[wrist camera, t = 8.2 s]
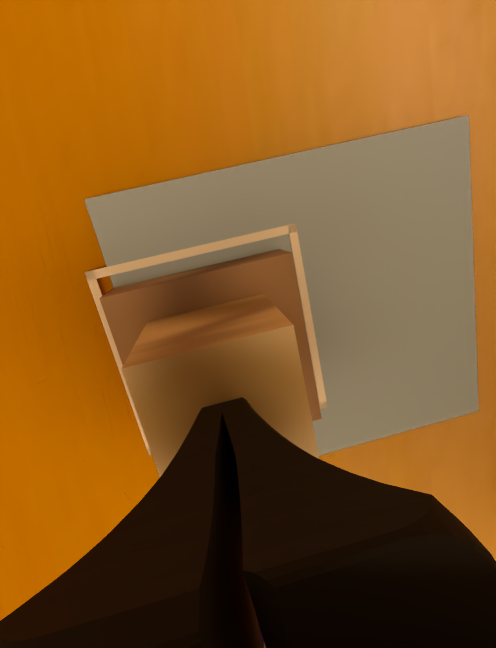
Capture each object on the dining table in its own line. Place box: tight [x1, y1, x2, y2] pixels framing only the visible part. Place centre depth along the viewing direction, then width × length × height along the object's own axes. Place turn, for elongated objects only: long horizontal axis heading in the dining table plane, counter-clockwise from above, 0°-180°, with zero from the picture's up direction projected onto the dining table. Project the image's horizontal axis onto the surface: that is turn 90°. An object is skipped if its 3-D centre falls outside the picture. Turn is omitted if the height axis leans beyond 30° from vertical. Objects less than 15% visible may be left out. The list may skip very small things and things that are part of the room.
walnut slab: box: [99, 249, 322, 421], centre depth 17 cm, size 8×8×2 cm
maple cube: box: [121, 294, 319, 477], centre depth 13 cm, size 5×5×5 cm
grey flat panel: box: [84, 115, 479, 455], centre depth 18 cm, size 19×16×1 cm
